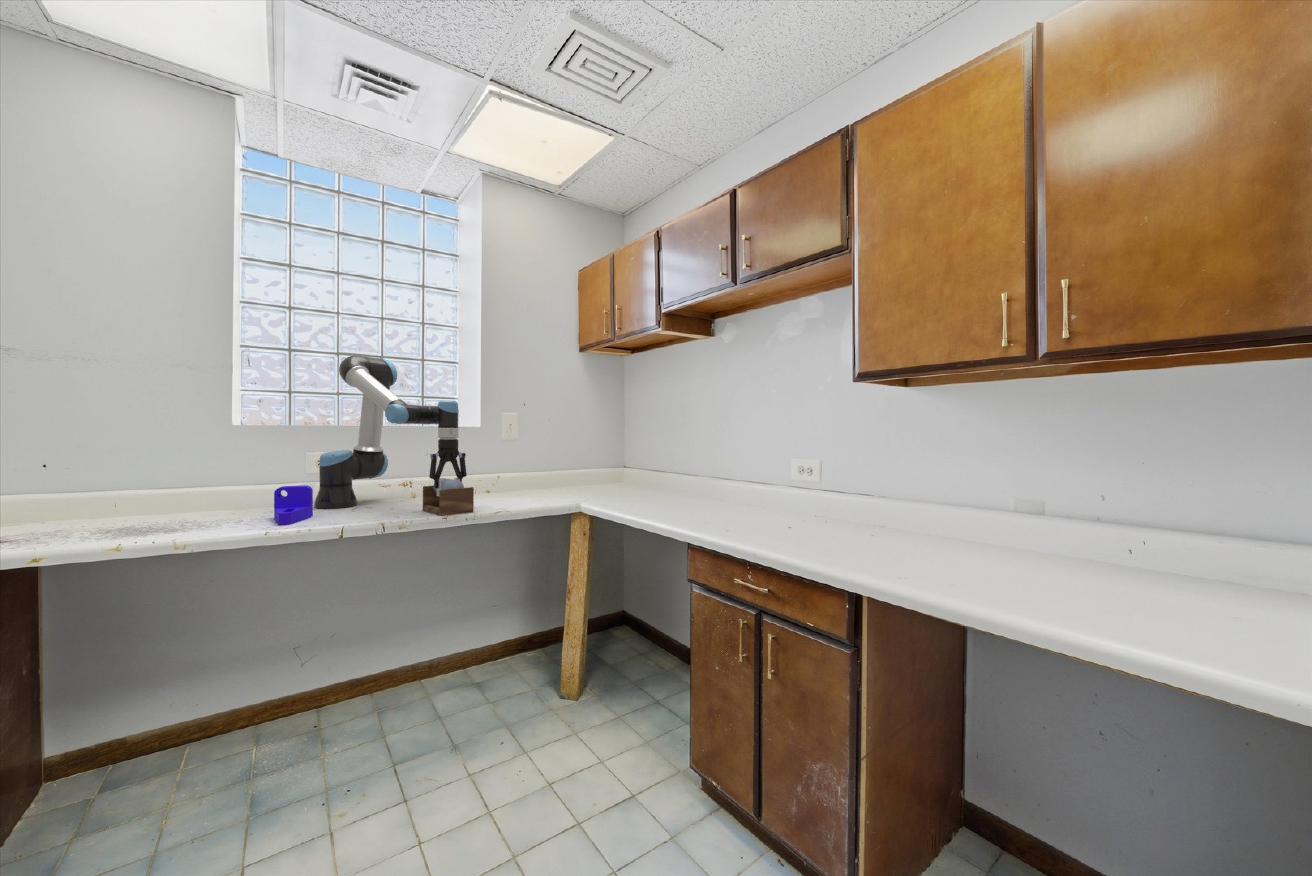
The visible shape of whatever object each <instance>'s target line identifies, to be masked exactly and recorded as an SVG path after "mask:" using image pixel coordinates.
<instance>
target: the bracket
mask: <svg viewBox="0 0 1312 876" xmlns="http://www.w3.org/2000/svg"><path fill="white" fill-rule="evenodd" d="M282 491H284V492H286V496H285V495H283V494H282ZM313 491H314V490H313V488H312V486H310V485H307V484H306V485H283V486H280V487H278V488H276V489H275V490H274V493H273V511H274V512H273V520H274V521H275V523H276V524H277V525H278V526H289V525H294V524H297V523H299V522H302V521H305V520H307V519H310V518H312V517H313V516H314V513H313V512H314V507H313V506H314V504H313V503H314V502H313V501H314V499H313V498H314V493H313Z"/></svg>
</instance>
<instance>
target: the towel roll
mask: <svg viewBox="0 0 1312 876" xmlns="http://www.w3.org/2000/svg"><path fill="white" fill-rule="evenodd" d="M439 480H441V490H444V489H456V488H465V486H464V484H463V481H462V482H461V481H459V480H455V479H453V478H446V477H440V479H439ZM432 486H433V489H434V491H435V493H437V488H435V487H434V485H432Z"/></svg>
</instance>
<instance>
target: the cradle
mask: <svg viewBox="0 0 1312 876" xmlns="http://www.w3.org/2000/svg"><path fill="white" fill-rule="evenodd" d="M433 486H434V485H425V486H424V485H422V512H426V513H429V514H433V515H436V516H440V517H443V516H445V517H446V516H451V515H452V516H453V515H461V514H466V513H473V512H474V507H475V506H474V498H475V497H474V493H475V492H474V488H475V487H473V486H469V487H464V488H456V489H444V490H439V496H437V493H435V491H434V489H433Z"/></svg>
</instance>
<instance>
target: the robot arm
mask: <svg viewBox="0 0 1312 876" xmlns="http://www.w3.org/2000/svg"><path fill="white" fill-rule="evenodd" d="M338 373H339V376H340V378H341V379H342V380H343V381H344V382H345V383H346V384H347V385H348V386H350V387H352V388H353V387H354V388H355V389H357V390H358V391H360V392H361V393H362V400H361V408H360V409H361V410H360V418H359V419H360V421H359V431H358V441H357V445H355V446H354V447H353V450H350V449H345V450H344V449H343V450H335V451H334V450H332V451H327V452H323V453H322V454H320V457H319V461H318V462H319V463H318V466H319V489H318V492H317V495H316V497H315V500H314V502H313V503H314V504H313V506H314V507H313V508H315V509H322V510H323V509H324V510H325V509H328V510H329V509H343V508H350V507H351V508H352V507H355V506H357V505H358V502H357V501H358V500H357V497H356V493H355V491H354V489H353V481H355V480H364V479H370V480H371V479H375V478H380V477H382V476H383V475H384V474H385V473H386V471H387V470H388V467H389V460H388V455H387V454H386V453H384V449H383V448H382V447H381V438H382V429H383V419H384V416H385V418H386V420H387V422H389V423H390V424H396V425H403V424H404V425H405V424H406V425H408V424H409V425H413V424H414V425H437V426H438V429H437V430H438V432H437V433H438V435H437V437H438V438H439V439H438V441H437V444H438V446H437V449H438V450H437V452H436V453H430V454H429V455H430V468H429V476H428V477H429V479H432V480H433V482H434V483H433V486H434V487H435V488H437V496H439V490H441V480H439V479H440V478H441V475H442V474H443V470H444V468H445V465H446V463H448V462H450V464H452V465H451V466H452V468H453V470H454V474H455V476H456V478H454V480H459V481H461V482H462V483H463V479H464V478H465V477H466V478H467V465H466V456H467V454H466V453H465V452H460V451H459V440H458V438H459V412H460V411H459V403H458V401H456V400H439V401H438V404H437V405H417V404H408V403H406V402H405V401H404V400H402V399H401V398H400V397H399V396H397V395H396V394H395V393H394V392H392V391H391V390H390V389H391V387H392V386H393V385H395V384H396V382H397V380H398V371H397V368H396V366H395V364H394V363H393V362H392V361H390V360H388V359H385V358H378V357H373V356H372V357H371V356H365V355H364V356H363V355H358V354H357V355H356V354H355V355H350V356H347V357H345V358H344V359H343V360H342V361H341V363H340V365H339V367H338ZM438 457H439V458H440V459H439V461H438ZM457 457H458V458H459V459H457ZM458 461H459V464H458ZM437 462H438V463H437ZM437 464H438V466H437Z"/></svg>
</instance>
